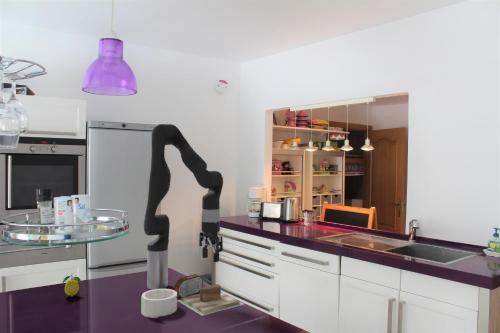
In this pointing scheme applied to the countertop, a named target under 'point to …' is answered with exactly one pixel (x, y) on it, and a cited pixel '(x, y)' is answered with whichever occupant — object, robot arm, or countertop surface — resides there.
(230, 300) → the cover board
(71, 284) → the lemon
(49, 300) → the countertop surface
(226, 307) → the mat
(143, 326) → the countertop surface
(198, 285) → the tin
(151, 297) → the bowl
